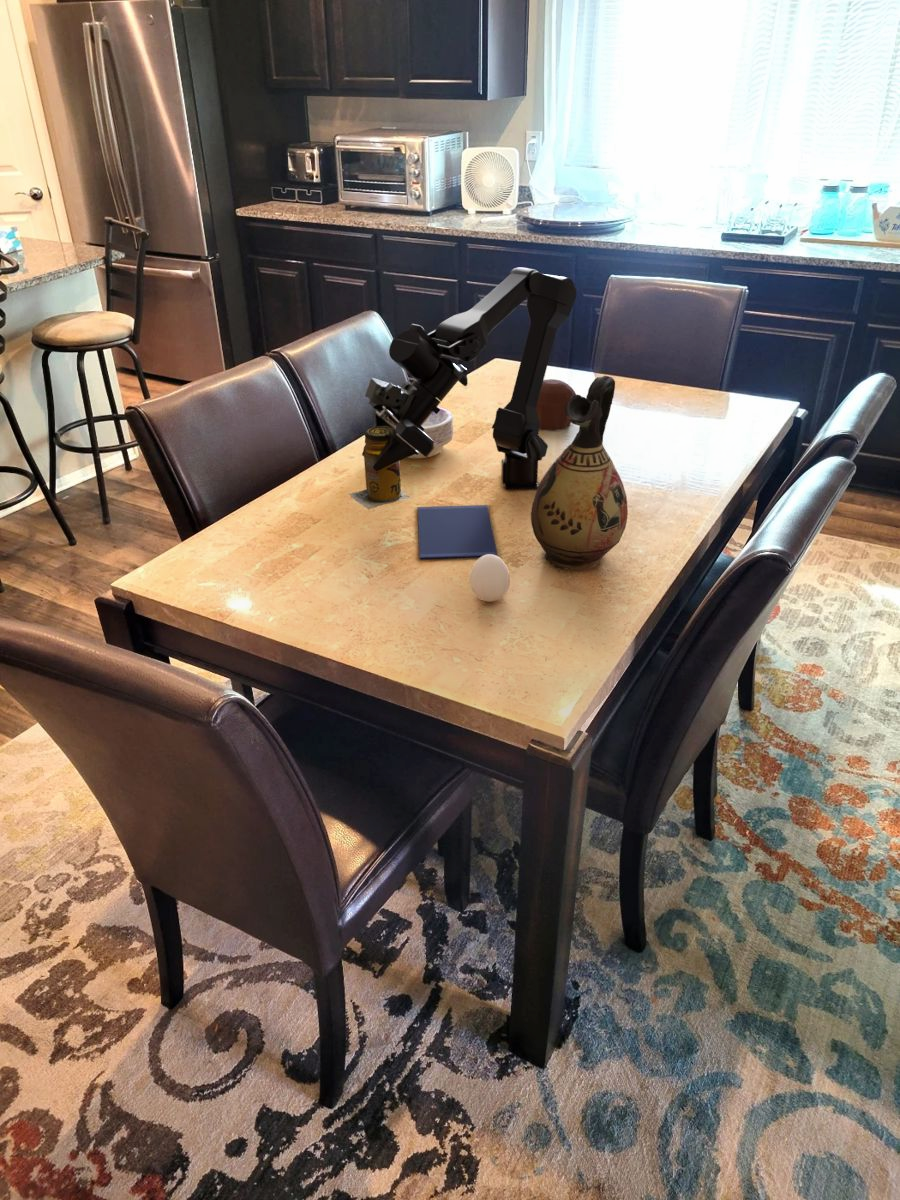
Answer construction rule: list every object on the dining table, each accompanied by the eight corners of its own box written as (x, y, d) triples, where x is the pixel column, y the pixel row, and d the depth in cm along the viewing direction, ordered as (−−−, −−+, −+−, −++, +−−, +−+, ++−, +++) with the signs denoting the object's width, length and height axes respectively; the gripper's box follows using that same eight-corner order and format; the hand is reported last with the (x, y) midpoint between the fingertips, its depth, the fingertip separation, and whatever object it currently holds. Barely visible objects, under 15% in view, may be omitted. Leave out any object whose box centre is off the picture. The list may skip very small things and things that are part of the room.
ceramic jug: (600, 590, 133) (617, 402, 117) (513, 565, 140) (518, 386, 124) (640, 546, 145) (660, 372, 129) (558, 526, 152) (568, 358, 137)
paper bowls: (371, 458, 181) (368, 422, 177) (401, 435, 193) (399, 401, 189) (437, 468, 176) (436, 431, 172) (463, 443, 188) (463, 408, 184)
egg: (474, 611, 128) (474, 567, 124) (465, 591, 133) (465, 548, 129) (513, 607, 129) (515, 563, 125) (503, 587, 134) (504, 544, 130)
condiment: (411, 498, 148) (407, 432, 142) (368, 510, 144) (363, 443, 138) (389, 484, 153) (385, 420, 147) (348, 495, 149) (342, 430, 143)
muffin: (583, 421, 199) (586, 379, 194) (562, 435, 191) (565, 392, 186) (538, 413, 205) (540, 371, 200) (516, 426, 197) (517, 383, 192)
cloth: (487, 506, 159) (487, 504, 159) (497, 557, 142) (497, 555, 142) (417, 509, 159) (417, 507, 159) (419, 559, 142) (419, 557, 142)
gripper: (376, 346, 145) (320, 418, 148) (412, 376, 130) (348, 455, 133) (421, 386, 151) (366, 453, 154) (460, 418, 137) (398, 493, 139)
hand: (369, 462), depth 145 cm, fingers closed on condiment, 6 cm apart
